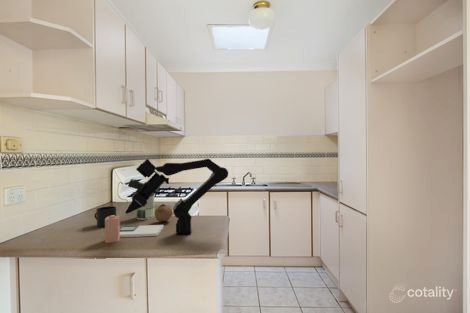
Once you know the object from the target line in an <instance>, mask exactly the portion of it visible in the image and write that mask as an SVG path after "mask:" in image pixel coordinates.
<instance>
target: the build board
mask: <svg viewBox="0 0 470 313" xmlns="http://www.w3.org/2000/svg"><path fill="white" fill-rule="evenodd" d="M163 228H164V224H153V225H152V224H151V225H150V224H149V225H139V224H134V225H133V224H132V225H120V238H137V237H138V238H140V237H157V236H158V235H159V234H160V233H161V231H163Z"/></svg>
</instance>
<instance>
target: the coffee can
mask: <svg viewBox="0 0 470 313" xmlns="http://www.w3.org/2000/svg"><path fill="white" fill-rule="evenodd" d="M135 211H136V220H139V221H146V220H151V219H154V218H155V193H153V194H152V195H151V196H150V197H149V199H148V200H147V204H146V205H145V206H143V207H141V208H139V209H137V210H135Z"/></svg>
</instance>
